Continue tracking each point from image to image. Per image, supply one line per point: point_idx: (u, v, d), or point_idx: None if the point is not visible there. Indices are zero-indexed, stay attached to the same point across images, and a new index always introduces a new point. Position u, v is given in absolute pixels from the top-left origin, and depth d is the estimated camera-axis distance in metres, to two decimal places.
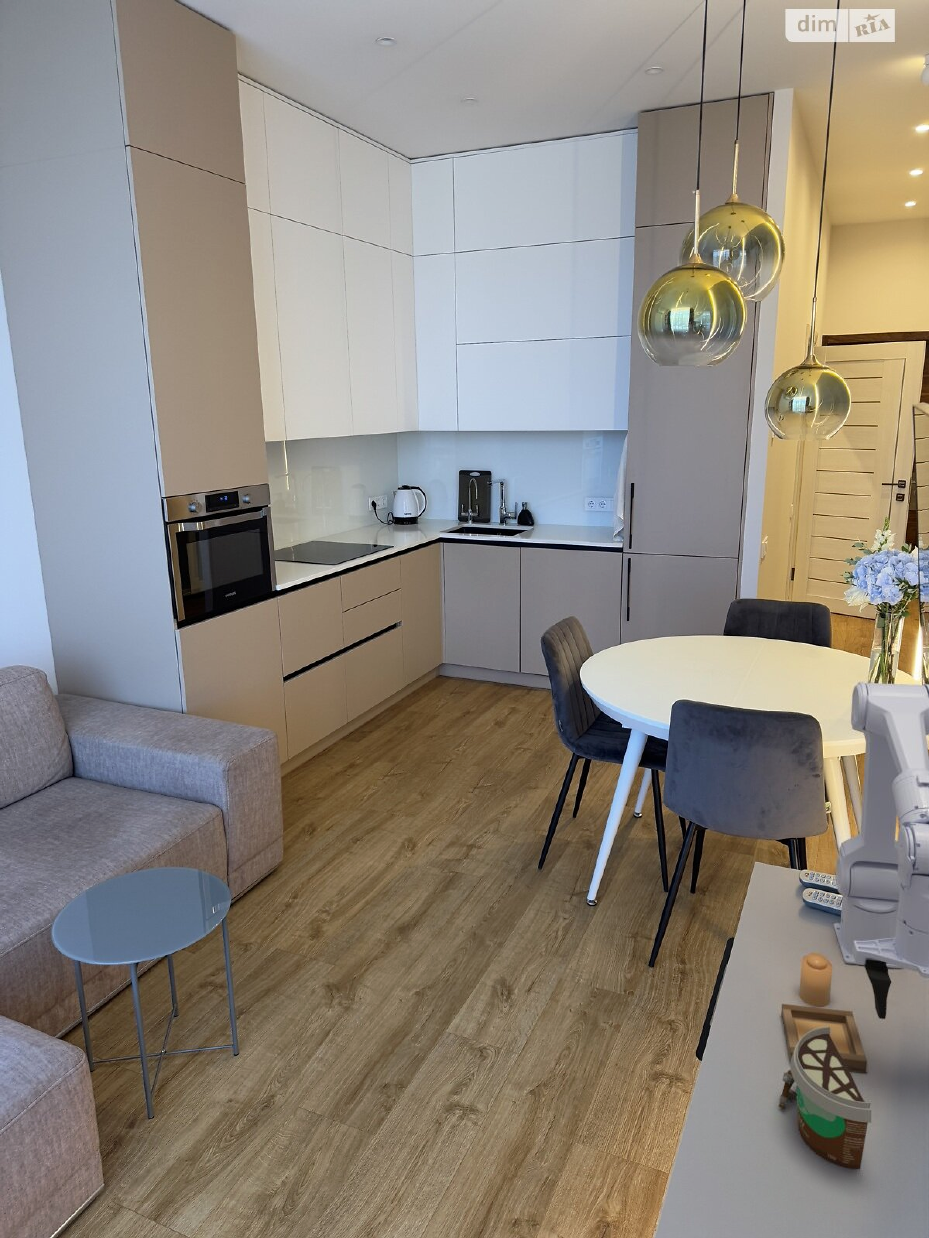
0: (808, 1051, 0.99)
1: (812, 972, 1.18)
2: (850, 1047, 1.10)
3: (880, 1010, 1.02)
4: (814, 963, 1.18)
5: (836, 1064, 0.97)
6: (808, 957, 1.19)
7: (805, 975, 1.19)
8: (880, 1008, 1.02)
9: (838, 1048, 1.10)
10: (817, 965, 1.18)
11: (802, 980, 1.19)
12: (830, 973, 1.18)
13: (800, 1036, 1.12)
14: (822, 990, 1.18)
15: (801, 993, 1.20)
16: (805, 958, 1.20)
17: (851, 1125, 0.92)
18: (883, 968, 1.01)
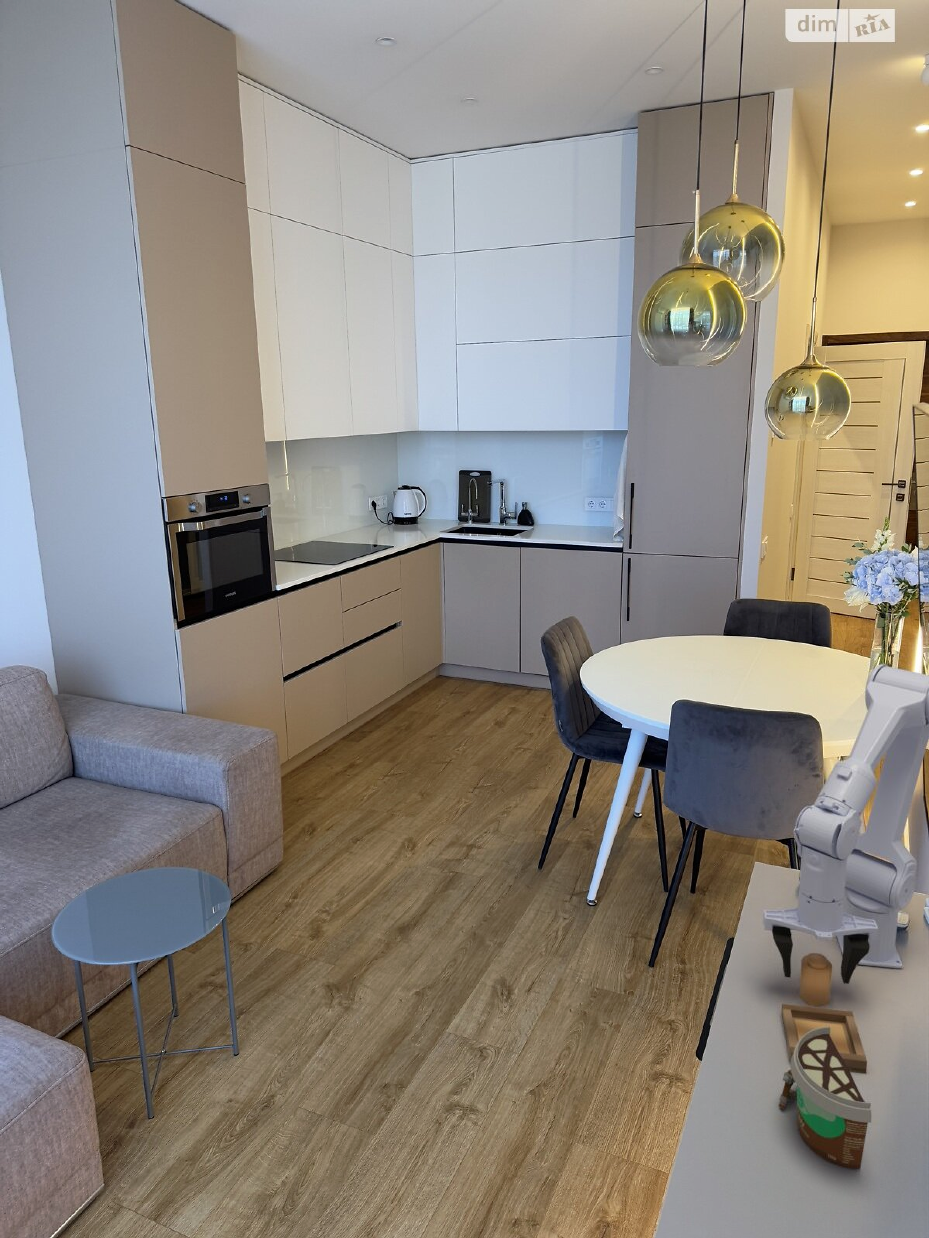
0: (808, 1051, 0.99)
1: (812, 972, 1.18)
2: (850, 1047, 1.10)
3: (785, 970, 1.19)
4: (814, 963, 1.18)
5: (836, 1064, 0.97)
6: (808, 957, 1.19)
7: (805, 975, 1.19)
8: (785, 968, 1.19)
9: (838, 1048, 1.10)
10: (817, 965, 1.18)
11: (802, 980, 1.19)
12: (830, 973, 1.18)
13: (800, 1036, 1.12)
14: (822, 990, 1.18)
15: (801, 993, 1.20)
16: (805, 958, 1.20)
17: (851, 1125, 0.92)
18: (787, 933, 1.18)
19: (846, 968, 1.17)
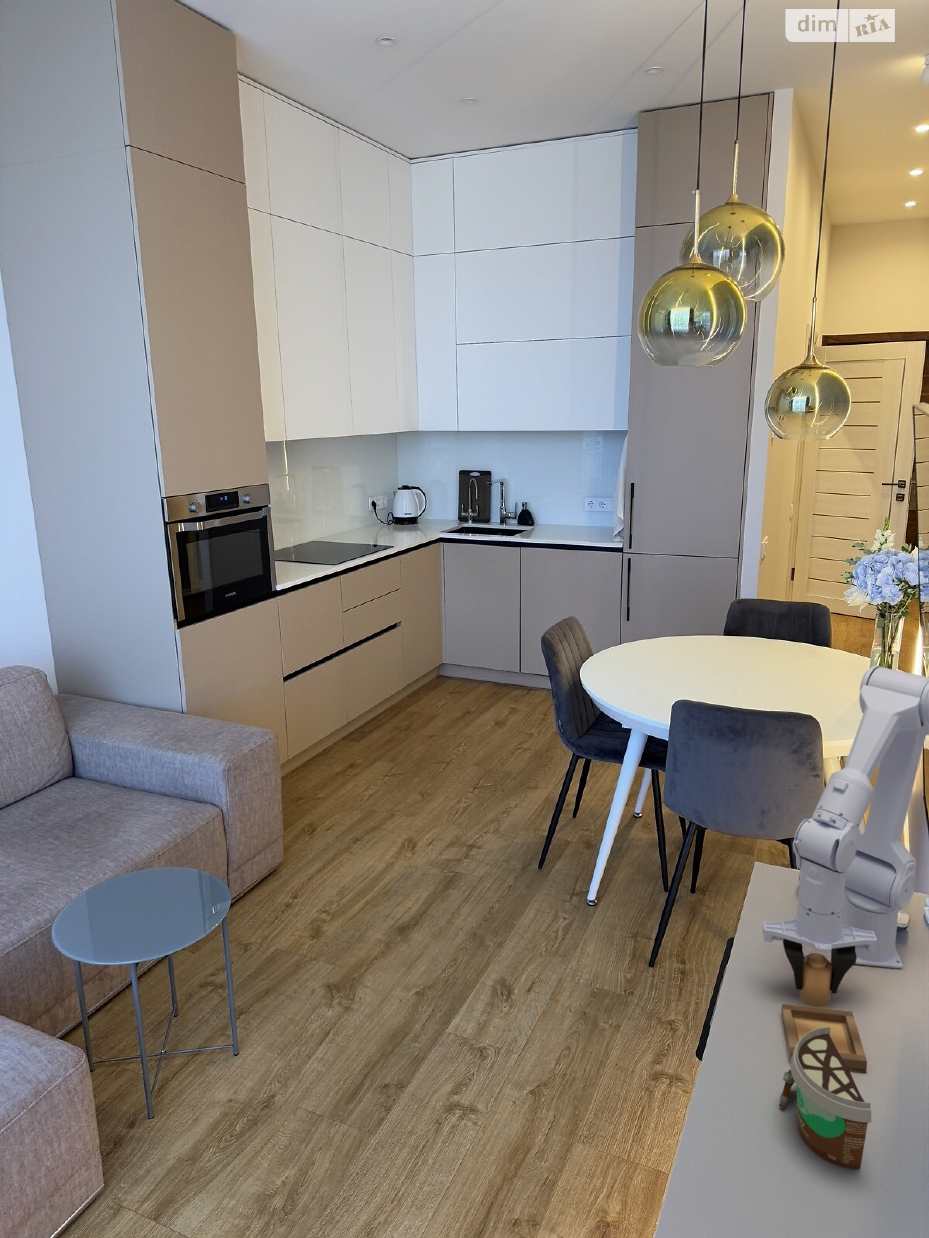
0: (808, 1051, 0.99)
1: (812, 972, 1.18)
2: (850, 1047, 1.10)
3: (797, 982, 1.19)
4: (814, 963, 1.18)
5: (836, 1064, 0.97)
6: (808, 957, 1.19)
7: (805, 975, 1.19)
8: (796, 980, 1.19)
9: (838, 1048, 1.10)
10: (817, 965, 1.18)
11: (802, 980, 1.19)
12: (830, 973, 1.18)
13: (800, 1036, 1.12)
14: (822, 990, 1.18)
15: (801, 993, 1.20)
16: (805, 958, 1.20)
17: (851, 1125, 0.92)
18: (798, 946, 1.18)
19: (834, 978, 1.18)
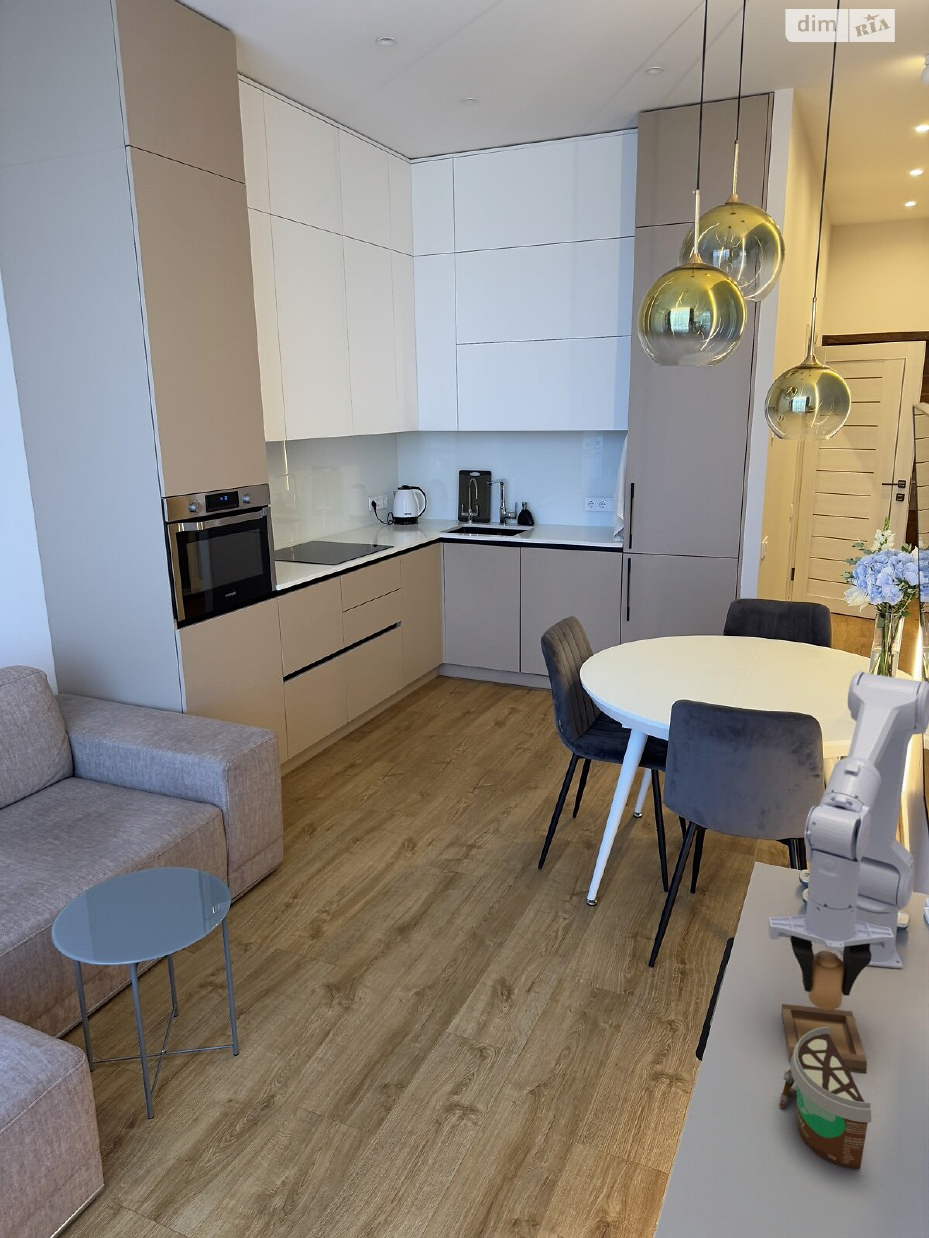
0: (808, 1051, 0.99)
1: (822, 972, 1.07)
2: (850, 1047, 1.10)
3: (805, 983, 1.09)
4: (825, 962, 1.08)
5: (836, 1064, 0.97)
6: (818, 955, 1.09)
7: (814, 975, 1.09)
8: (805, 981, 1.09)
9: (838, 1048, 1.10)
10: (828, 964, 1.08)
11: (811, 981, 1.09)
12: (842, 973, 1.08)
13: (800, 1036, 1.12)
14: (833, 991, 1.08)
15: (810, 995, 1.10)
16: (814, 956, 1.10)
17: (851, 1125, 0.92)
18: (807, 943, 1.08)
19: (846, 979, 1.08)
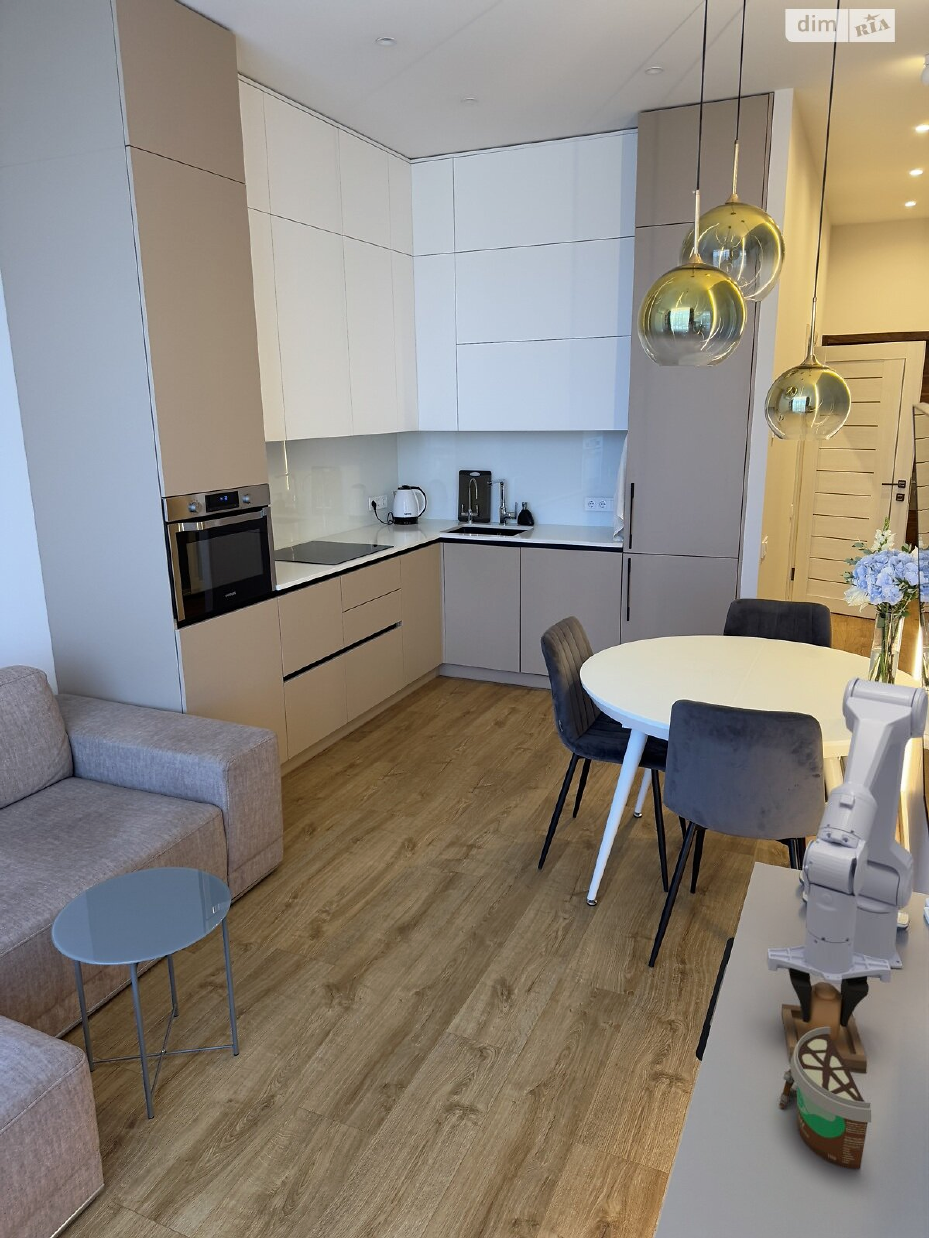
0: (808, 1051, 0.99)
1: (820, 1004, 1.09)
2: (850, 1047, 1.10)
3: (804, 1014, 1.10)
4: (822, 993, 1.09)
5: (836, 1063, 0.97)
6: (816, 987, 1.10)
7: (812, 1006, 1.10)
8: (803, 1012, 1.10)
9: (838, 1048, 1.10)
10: (826, 996, 1.09)
11: (809, 1012, 1.11)
12: (840, 1004, 1.09)
13: (800, 1036, 1.12)
14: (831, 1023, 1.09)
15: (808, 1025, 1.11)
16: (812, 987, 1.11)
17: (851, 1125, 0.92)
18: (805, 975, 1.09)
19: (844, 1010, 1.09)
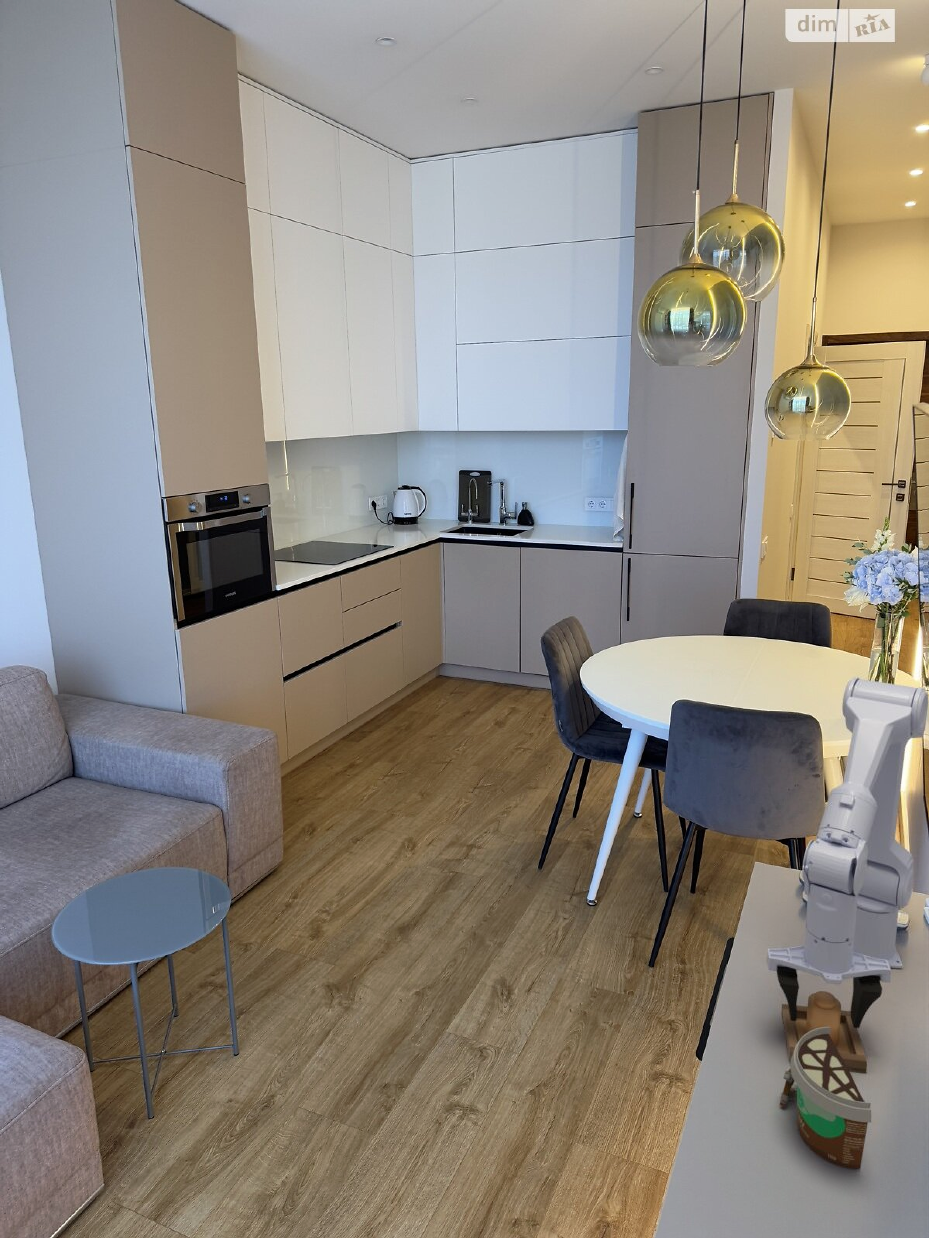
0: (808, 1051, 0.99)
1: (819, 1013, 1.09)
2: (850, 1047, 1.10)
3: (791, 1013, 1.10)
4: (822, 1003, 1.09)
5: (836, 1063, 0.97)
6: (815, 996, 1.11)
7: (812, 1015, 1.10)
8: (791, 1011, 1.10)
9: (838, 1048, 1.10)
10: (825, 1005, 1.09)
11: (809, 1021, 1.11)
12: (839, 1013, 1.09)
13: (800, 1036, 1.12)
14: (830, 1032, 1.09)
15: None
16: (812, 996, 1.12)
17: (851, 1125, 0.92)
18: (793, 974, 1.09)
19: (856, 1012, 1.08)
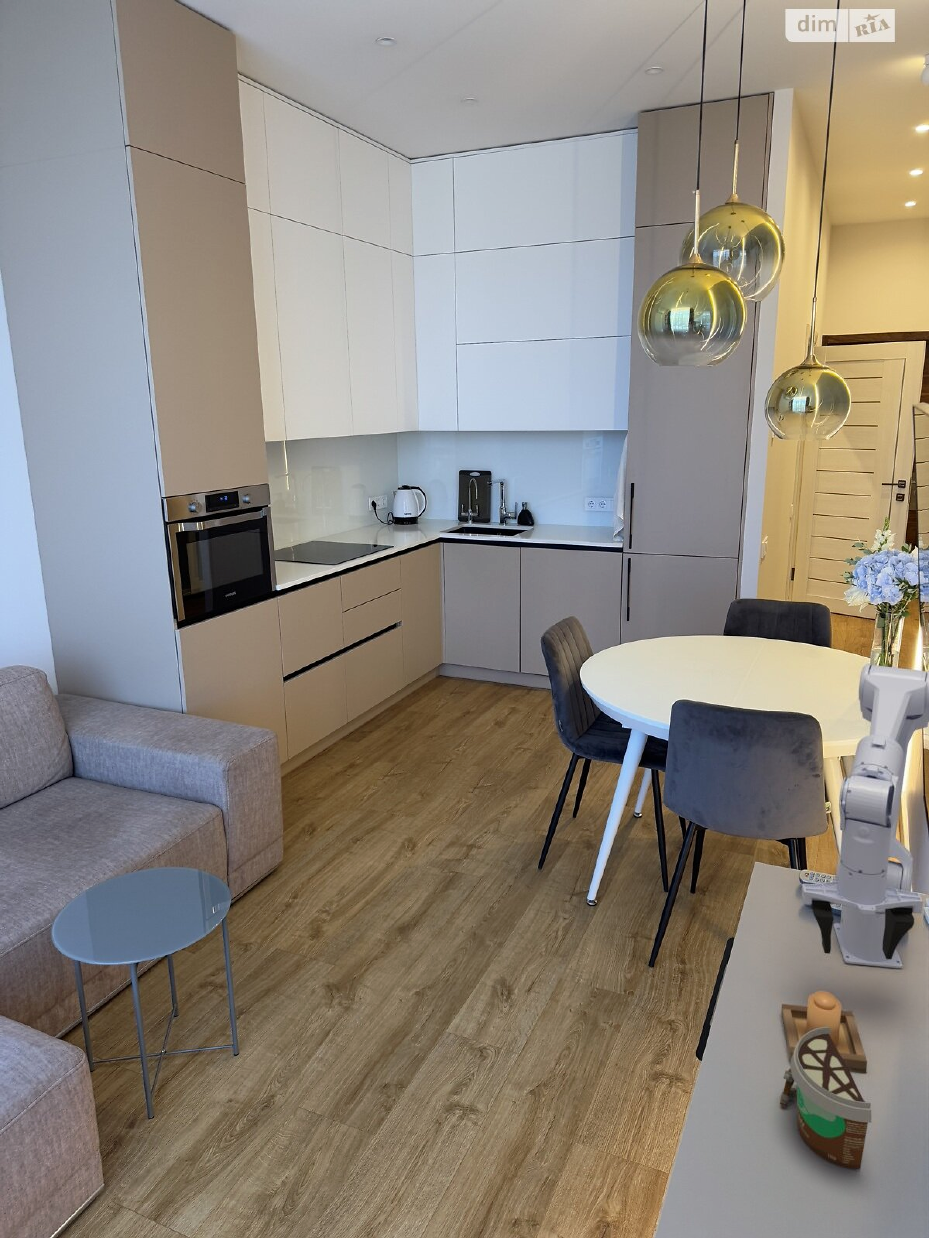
0: (808, 1051, 0.99)
1: (819, 1013, 1.09)
2: (850, 1047, 1.10)
3: (825, 945, 1.14)
4: (822, 1003, 1.09)
5: (836, 1064, 0.97)
6: (815, 996, 1.11)
7: (812, 1015, 1.10)
8: (825, 943, 1.14)
9: (838, 1048, 1.10)
10: (825, 1005, 1.09)
11: (809, 1021, 1.11)
12: (839, 1014, 1.09)
13: (800, 1036, 1.12)
14: (830, 1032, 1.09)
15: None
16: (812, 996, 1.12)
17: (851, 1125, 0.92)
18: (827, 907, 1.13)
19: (889, 943, 1.12)
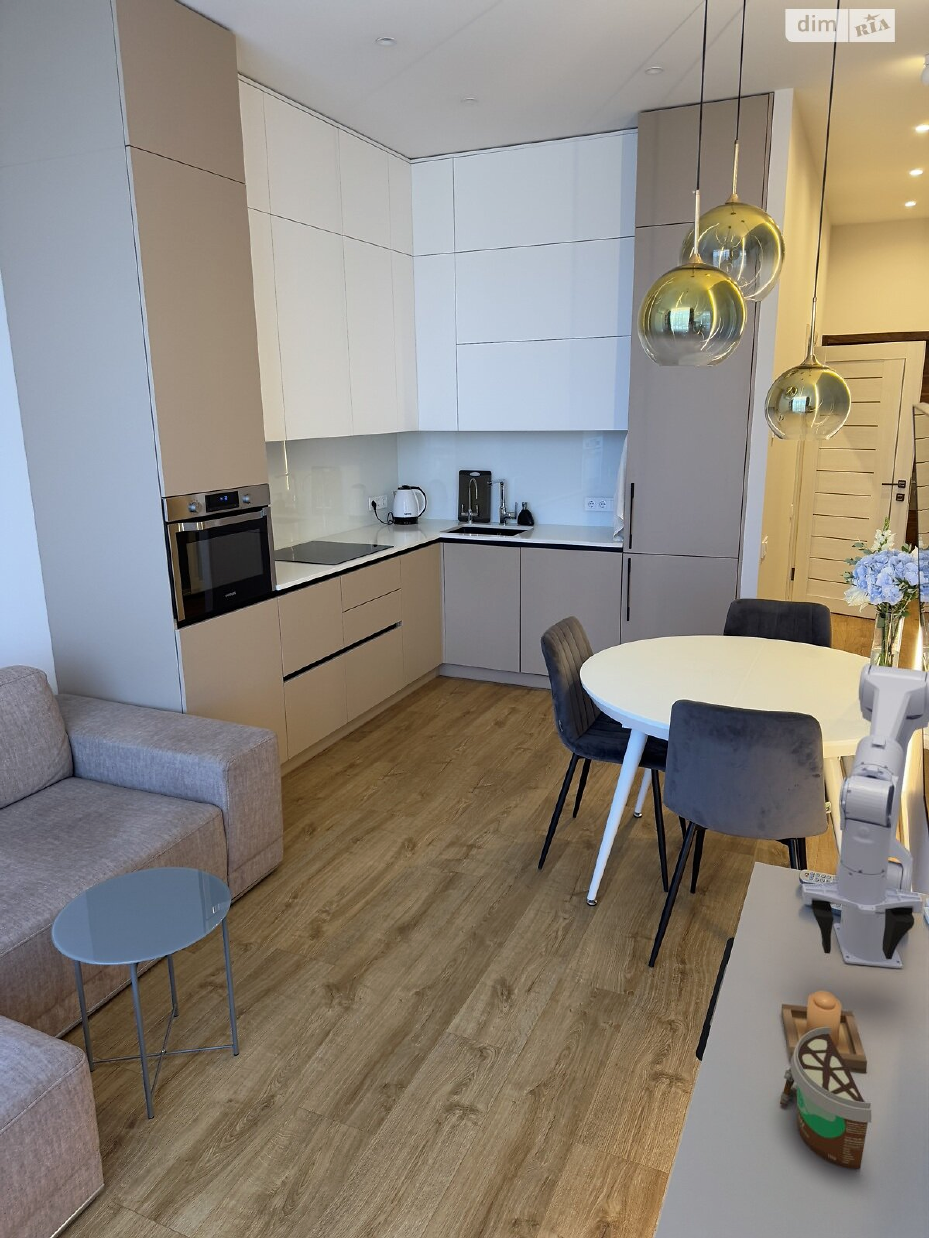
0: (808, 1051, 0.99)
1: (819, 1013, 1.09)
2: (850, 1047, 1.10)
3: (825, 945, 1.14)
4: (822, 1002, 1.09)
5: (836, 1064, 0.97)
6: (815, 996, 1.11)
7: (811, 1015, 1.10)
8: (825, 943, 1.14)
9: (838, 1048, 1.10)
10: (825, 1005, 1.09)
11: (808, 1021, 1.11)
12: (839, 1013, 1.09)
13: (800, 1036, 1.12)
14: (830, 1031, 1.09)
15: None
16: (812, 996, 1.12)
17: (851, 1125, 0.92)
18: (827, 907, 1.13)
19: (889, 943, 1.12)
